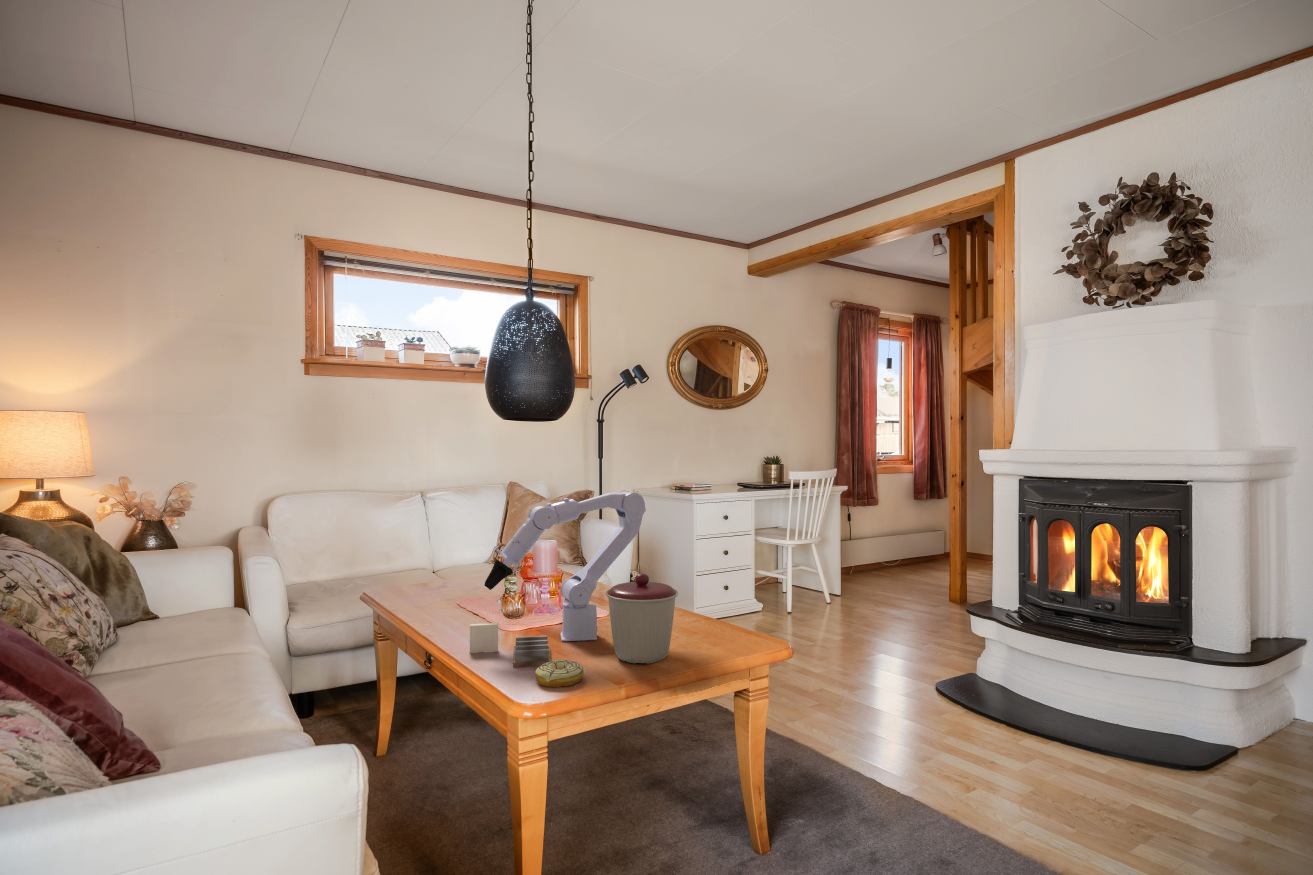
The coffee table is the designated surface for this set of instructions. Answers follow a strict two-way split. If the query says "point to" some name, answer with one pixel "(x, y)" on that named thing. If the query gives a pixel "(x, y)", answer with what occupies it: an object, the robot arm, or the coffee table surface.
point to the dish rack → (531, 651)
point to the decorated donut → (559, 673)
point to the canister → (641, 619)
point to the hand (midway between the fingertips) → (487, 586)
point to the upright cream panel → (484, 637)
